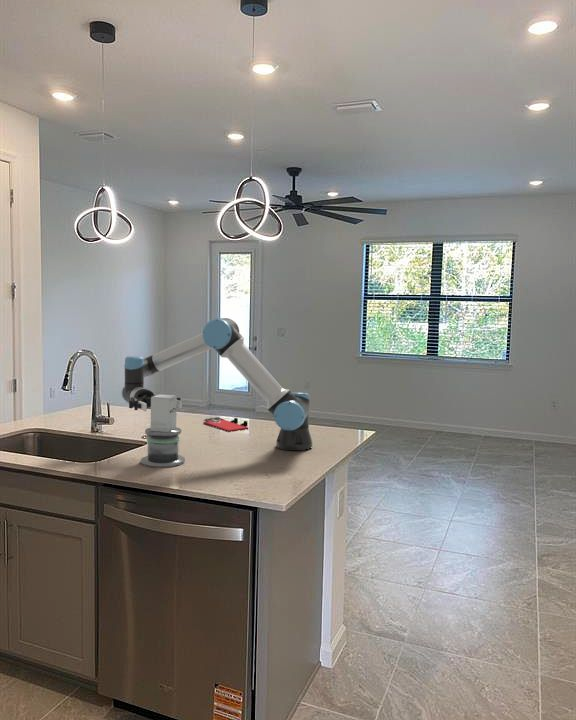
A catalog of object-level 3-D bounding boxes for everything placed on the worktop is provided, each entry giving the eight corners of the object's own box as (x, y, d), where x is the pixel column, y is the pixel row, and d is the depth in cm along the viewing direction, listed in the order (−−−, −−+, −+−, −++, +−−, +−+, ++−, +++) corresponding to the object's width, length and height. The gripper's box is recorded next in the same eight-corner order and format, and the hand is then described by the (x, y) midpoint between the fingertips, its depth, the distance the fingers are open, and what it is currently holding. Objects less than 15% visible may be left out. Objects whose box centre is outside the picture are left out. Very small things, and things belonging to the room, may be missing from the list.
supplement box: (169, 432, 211) (169, 397, 210) (149, 431, 213) (150, 396, 212) (177, 428, 218) (177, 394, 217) (158, 427, 220) (158, 393, 219)
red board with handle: (220, 418, 304) (195, 422, 295) (221, 413, 304) (195, 416, 294) (254, 429, 281) (228, 433, 272) (254, 423, 281) (228, 427, 271)
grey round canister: (193, 460, 219) (194, 429, 218) (164, 470, 205) (164, 436, 204) (161, 454, 227) (162, 423, 226) (131, 463, 214) (131, 430, 213)
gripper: (172, 405, 239) (194, 413, 221) (111, 409, 225) (130, 419, 207) (172, 386, 238) (194, 393, 221) (111, 390, 224) (130, 398, 207)
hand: (163, 406), depth 214 cm, fingers open, 13 cm apart
